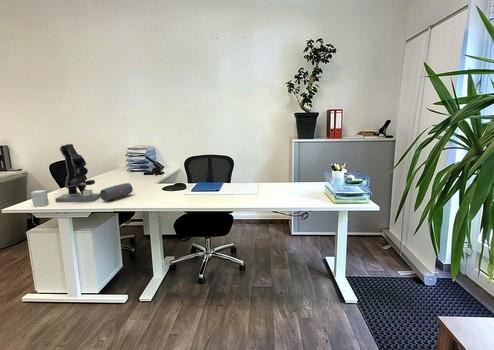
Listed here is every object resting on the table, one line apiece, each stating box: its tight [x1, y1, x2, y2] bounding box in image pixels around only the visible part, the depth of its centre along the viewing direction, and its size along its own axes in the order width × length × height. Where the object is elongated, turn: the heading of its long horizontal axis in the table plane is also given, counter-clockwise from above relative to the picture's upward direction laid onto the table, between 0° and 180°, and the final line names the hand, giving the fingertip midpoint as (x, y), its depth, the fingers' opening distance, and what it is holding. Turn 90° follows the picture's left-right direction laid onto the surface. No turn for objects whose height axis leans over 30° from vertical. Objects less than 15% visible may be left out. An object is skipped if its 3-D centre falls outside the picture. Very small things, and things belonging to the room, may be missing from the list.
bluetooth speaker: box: [99, 182, 134, 202], centre depth 232 cm, size 23×9×10 cm, turn 151°
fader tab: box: [83, 189, 94, 196], centre depth 231 cm, size 4×5×4 cm
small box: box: [30, 189, 50, 207], centre depth 220 cm, size 8×6×10 cm
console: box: [54, 192, 100, 203], centre depth 232 cm, size 12×28×3 cm, turn 87°
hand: (82, 193), depth 231 cm, fingers closed
